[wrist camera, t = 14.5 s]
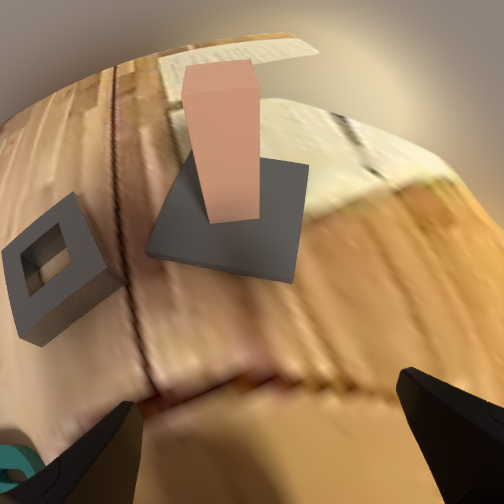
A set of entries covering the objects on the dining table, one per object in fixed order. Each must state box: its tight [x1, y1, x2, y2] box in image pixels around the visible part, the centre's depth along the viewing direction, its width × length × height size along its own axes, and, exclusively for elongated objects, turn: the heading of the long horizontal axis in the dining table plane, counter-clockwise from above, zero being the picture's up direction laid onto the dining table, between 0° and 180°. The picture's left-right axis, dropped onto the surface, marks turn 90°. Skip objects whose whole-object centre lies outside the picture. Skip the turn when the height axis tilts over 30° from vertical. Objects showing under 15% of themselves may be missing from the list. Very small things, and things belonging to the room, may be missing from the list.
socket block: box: [1, 191, 124, 347], centre depth 23 cm, size 11×11×4 cm
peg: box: [181, 59, 260, 224], centre depth 21 cm, size 4×4×13 cm
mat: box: [144, 150, 309, 284], centre depth 27 cm, size 13×13×1 cm
